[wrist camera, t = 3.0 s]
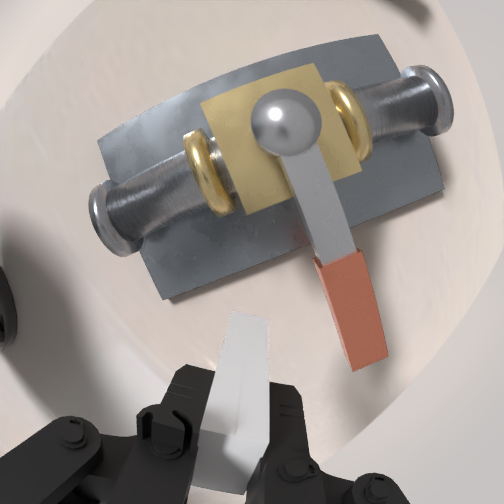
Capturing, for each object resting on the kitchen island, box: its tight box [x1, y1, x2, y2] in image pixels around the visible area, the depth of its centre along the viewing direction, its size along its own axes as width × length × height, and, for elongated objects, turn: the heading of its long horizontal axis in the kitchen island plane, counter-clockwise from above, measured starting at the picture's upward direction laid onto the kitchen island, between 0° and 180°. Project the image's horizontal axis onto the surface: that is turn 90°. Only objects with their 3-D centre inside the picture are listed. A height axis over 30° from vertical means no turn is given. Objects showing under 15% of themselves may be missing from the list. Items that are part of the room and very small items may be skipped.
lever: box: [251, 89, 388, 371], centre depth 14 cm, size 15×3×2 cm, turn 22°
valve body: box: [89, 34, 454, 300], centre depth 19 cm, size 28×16×9 cm, turn 112°
